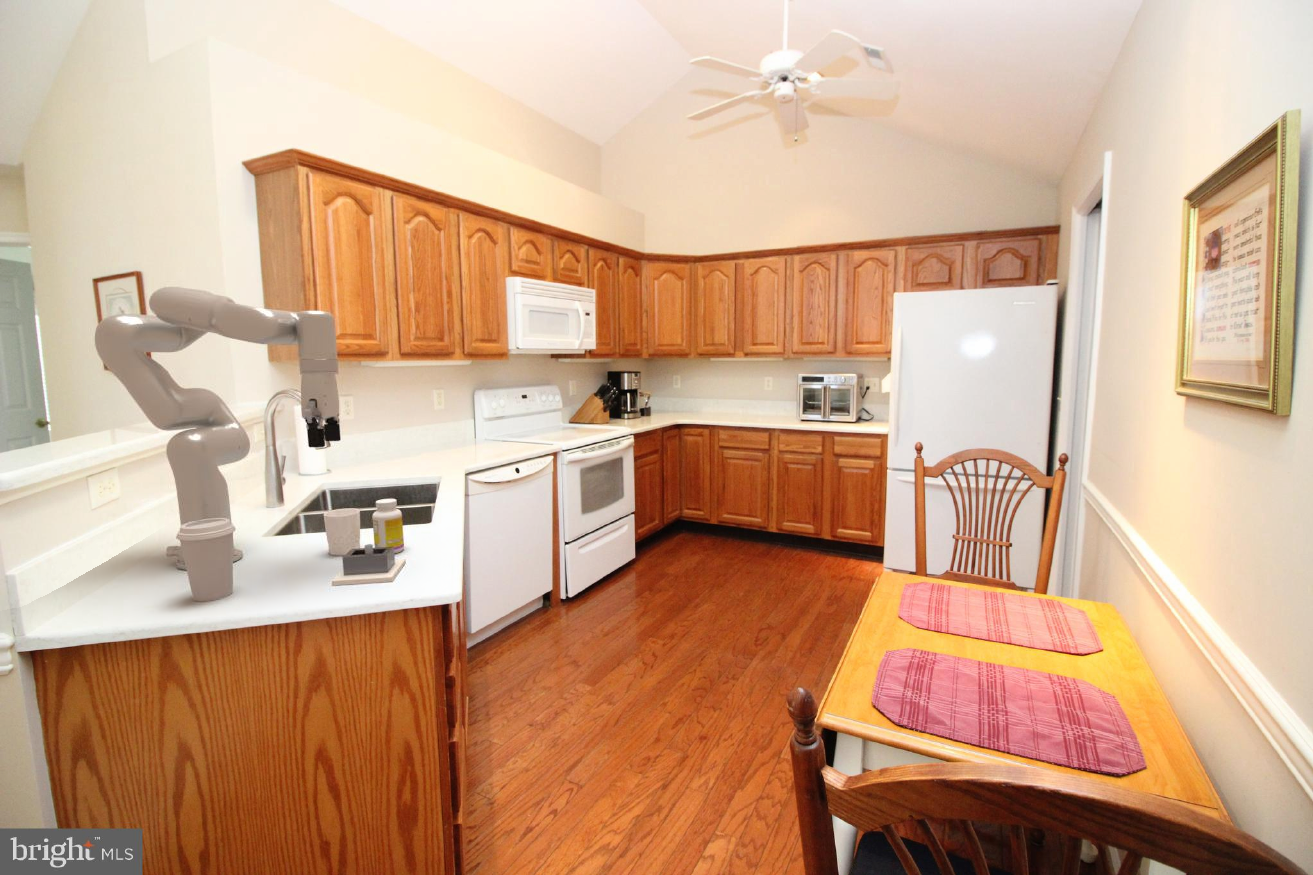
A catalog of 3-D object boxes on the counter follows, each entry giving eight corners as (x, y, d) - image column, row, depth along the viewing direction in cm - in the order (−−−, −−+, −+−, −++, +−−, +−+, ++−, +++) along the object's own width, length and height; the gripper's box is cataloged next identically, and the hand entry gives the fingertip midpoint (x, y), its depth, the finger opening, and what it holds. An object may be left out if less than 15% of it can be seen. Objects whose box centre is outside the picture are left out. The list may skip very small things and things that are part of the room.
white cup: (369, 548, 152) (366, 509, 150) (344, 558, 144) (341, 517, 143) (345, 545, 154) (342, 507, 153) (319, 554, 147) (315, 514, 146)
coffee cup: (242, 583, 129) (235, 514, 127) (241, 597, 121) (233, 524, 119) (186, 592, 123) (178, 521, 121) (180, 608, 115) (171, 532, 113)
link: (343, 575, 130) (342, 557, 129) (352, 566, 136) (351, 548, 135) (388, 572, 131) (386, 554, 131) (395, 563, 137) (393, 546, 137)
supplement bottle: (409, 547, 152) (406, 497, 150) (395, 556, 146) (392, 504, 144) (384, 546, 153) (380, 497, 151) (369, 555, 146) (365, 503, 144)
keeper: (331, 585, 127) (329, 555, 126) (350, 566, 138) (348, 538, 137) (392, 581, 129) (390, 552, 128) (405, 563, 140) (403, 536, 139)
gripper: (315, 367, 142) (321, 439, 144) (283, 368, 125) (290, 450, 127) (350, 367, 143) (355, 438, 145) (322, 368, 126) (329, 449, 128)
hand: (325, 443), depth 136 cm, fingers open, 9 cm apart
